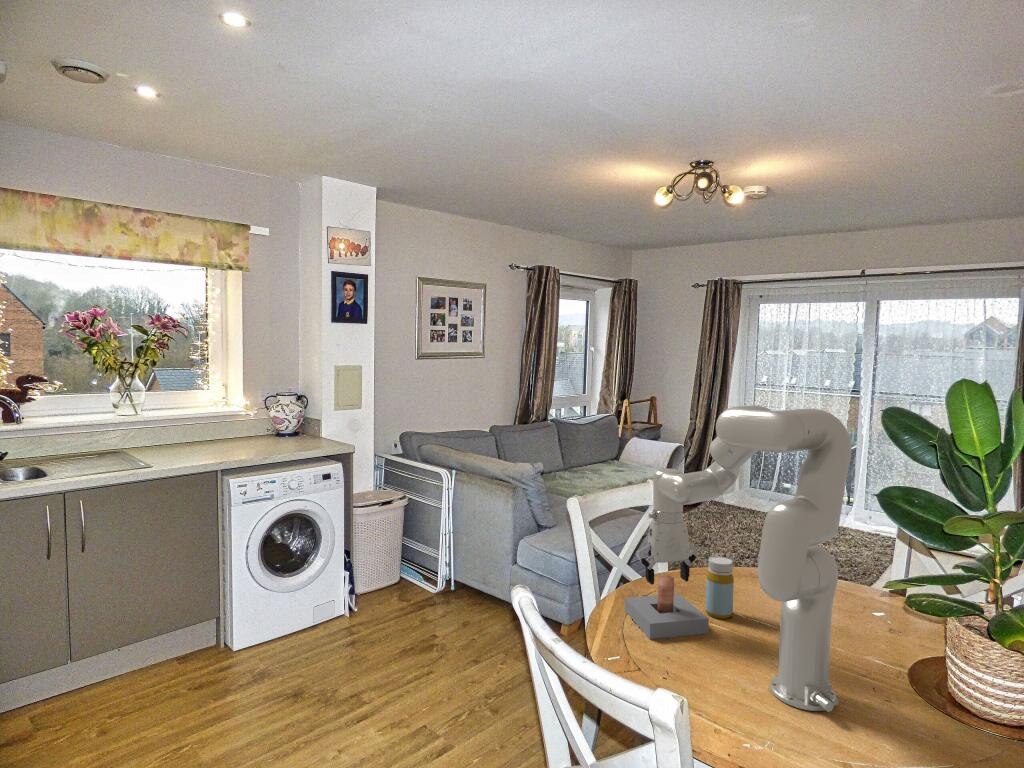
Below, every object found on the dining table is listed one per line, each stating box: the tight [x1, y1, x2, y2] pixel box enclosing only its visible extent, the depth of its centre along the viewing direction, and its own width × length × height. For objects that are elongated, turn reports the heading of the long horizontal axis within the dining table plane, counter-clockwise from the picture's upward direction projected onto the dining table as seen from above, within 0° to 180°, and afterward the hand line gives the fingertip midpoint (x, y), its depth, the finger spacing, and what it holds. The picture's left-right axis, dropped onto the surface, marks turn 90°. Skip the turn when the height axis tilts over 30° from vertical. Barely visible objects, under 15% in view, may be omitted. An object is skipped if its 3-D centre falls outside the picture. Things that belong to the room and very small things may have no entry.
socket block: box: [624, 593, 710, 640], centre depth 162 cm, size 16×16×4 cm
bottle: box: [705, 556, 735, 620], centre depth 168 cm, size 7×7×15 cm
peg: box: [657, 574, 675, 614], centre depth 162 cm, size 4×4×12 cm
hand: (667, 581), depth 161 cm, fingers open, 9 cm apart
